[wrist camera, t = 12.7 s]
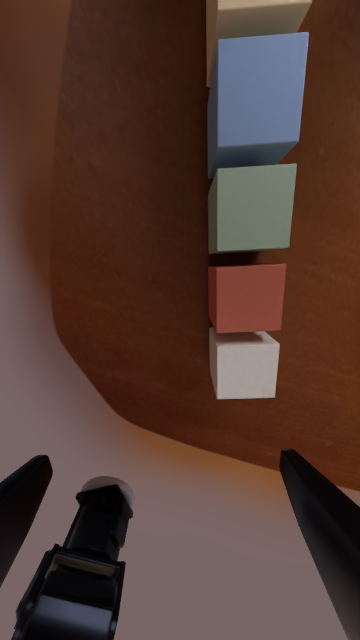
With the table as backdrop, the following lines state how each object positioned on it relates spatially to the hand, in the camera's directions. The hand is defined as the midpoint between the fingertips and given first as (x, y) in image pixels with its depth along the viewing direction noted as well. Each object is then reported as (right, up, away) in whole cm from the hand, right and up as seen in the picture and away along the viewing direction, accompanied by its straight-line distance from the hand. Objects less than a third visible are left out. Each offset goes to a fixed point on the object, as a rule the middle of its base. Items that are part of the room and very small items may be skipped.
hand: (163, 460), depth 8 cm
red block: (+5, +8, +10) cm, 14 cm away
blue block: (+5, +19, +7) cm, 20 cm away
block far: (+6, +3, +12) cm, 13 cm away
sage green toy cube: (+5, +13, +9) cm, 17 cm away
